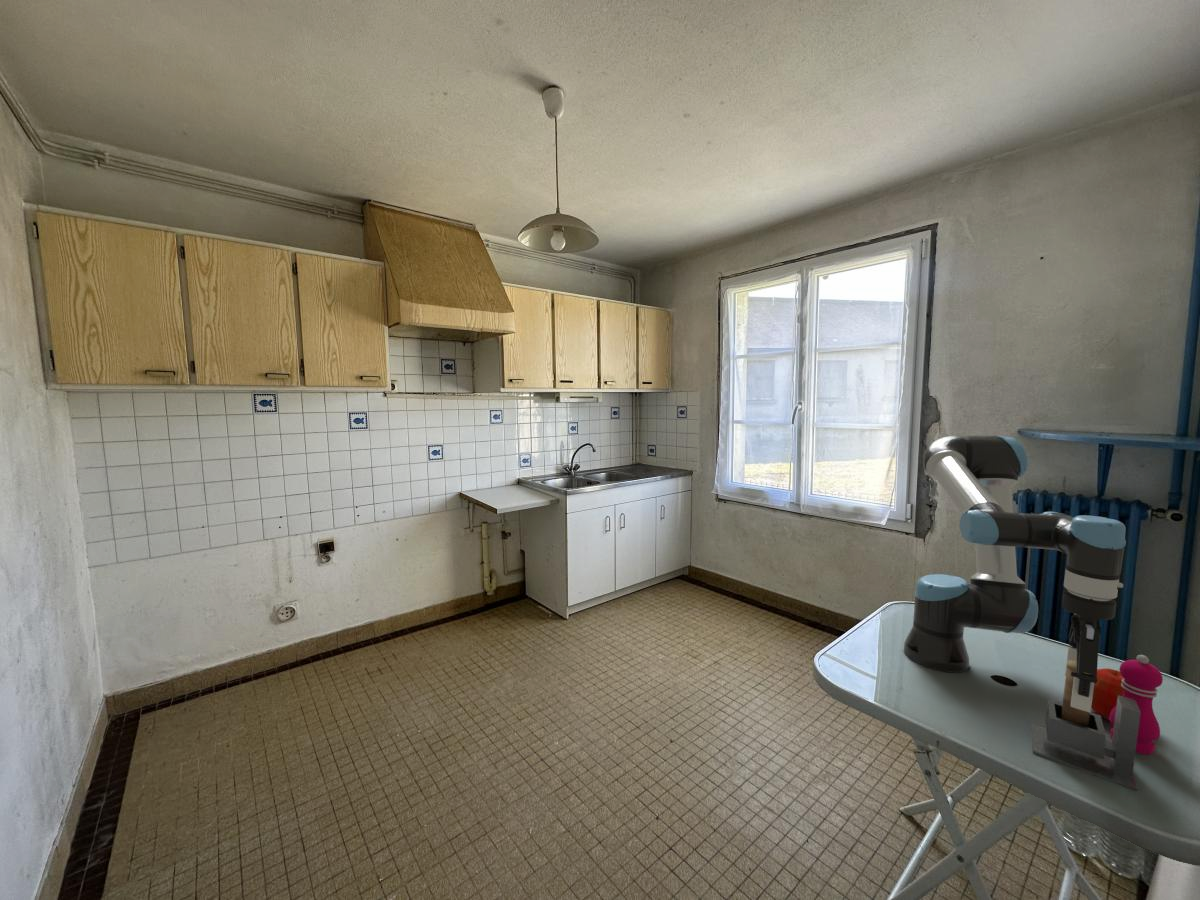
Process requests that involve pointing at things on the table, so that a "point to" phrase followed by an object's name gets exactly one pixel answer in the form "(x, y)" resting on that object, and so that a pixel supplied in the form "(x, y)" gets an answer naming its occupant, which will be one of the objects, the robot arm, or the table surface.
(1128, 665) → the pepper mill
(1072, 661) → the brown cylinder
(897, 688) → the table surface
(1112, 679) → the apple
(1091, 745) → the bracket
